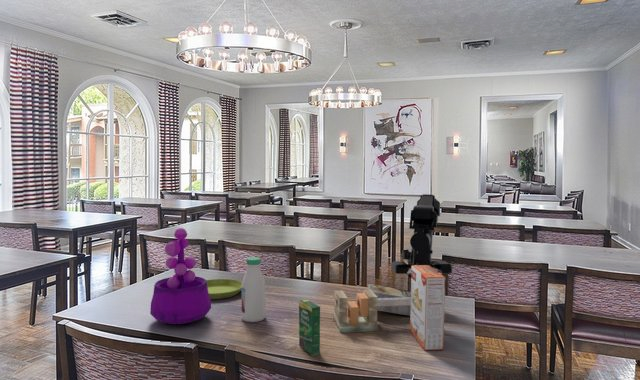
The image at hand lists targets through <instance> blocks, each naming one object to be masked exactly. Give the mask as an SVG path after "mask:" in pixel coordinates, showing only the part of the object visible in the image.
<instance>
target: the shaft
mask: <svg viewBox="0 0 640 380" xmlns="http://www.w3.org/2000/svg"><path fill="white" fill-rule="evenodd" d="M402 305H411V297H399V298H378V299H377V306H402Z"/></svg>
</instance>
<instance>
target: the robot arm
mask: <svg viewBox="0 0 640 380" xmlns="http://www.w3.org/2000/svg"><path fill="white" fill-rule="evenodd" d="M440 216H441V202H440V201H439V200H438V199H436V196H435V195H434V194H428V193H427V194H425V193H423V194H421V195H420V197H419V199H418V200H417V201H416V205H414V206H413V208H412V209H410V216H409V225H408V227H409V229H410V230H413V233H412V236H411V237H410V241H409V244H410V247H411V251H410V250H409V249H402V250H401V259H402V260H403V261H402V260H399V261H394V260H393V261H392V262H391V265H390V270H391V271H393V272H394V273H395V274H397V275H399V274H400V275H402V274H403V275H405V274H406V276H408V278H409V280H410V281H411V266H413V265H429V266H430V267H432V268H433V269H434V270H436V271H437V272H439V270H440V271H441V272H442V273H443V274H452V273H453V265H452V264H451V263H450V262H447V261H446V260H434V262H432V255H433V254H434V253H433V237H434V236H433V235H434V231H435V229H436V228H437V224H438V221H439V217H440ZM405 260H406V261H407V262H404V261H405Z"/></svg>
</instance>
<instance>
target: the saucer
mask: <svg viewBox="0 0 640 380" xmlns="http://www.w3.org/2000/svg"><path fill="white" fill-rule="evenodd" d="M205 280H206V281H207V287H208V293H209V296H210V300H222V299H228V298H232V297H233V296H236V295H237V294H239V293H240V292H241V291H242V281H240V280H236V279H231V278H230V279H229V278H228V279H227V278H216V279H215V278H214V279H213V278H212V279H205Z"/></svg>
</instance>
